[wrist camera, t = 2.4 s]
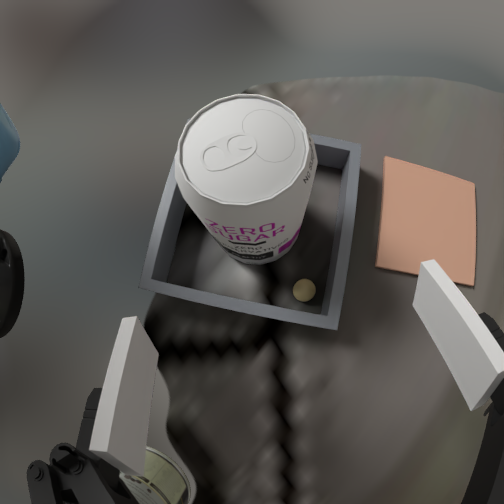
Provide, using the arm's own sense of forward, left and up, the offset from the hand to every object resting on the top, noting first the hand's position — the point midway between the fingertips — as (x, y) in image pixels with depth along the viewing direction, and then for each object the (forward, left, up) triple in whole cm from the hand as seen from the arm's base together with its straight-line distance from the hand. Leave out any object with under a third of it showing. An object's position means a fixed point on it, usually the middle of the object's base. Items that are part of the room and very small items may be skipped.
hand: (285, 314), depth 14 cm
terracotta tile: (+14, +12, -15) cm, 24 cm away
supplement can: (-4, +8, -16) cm, 18 cm away
